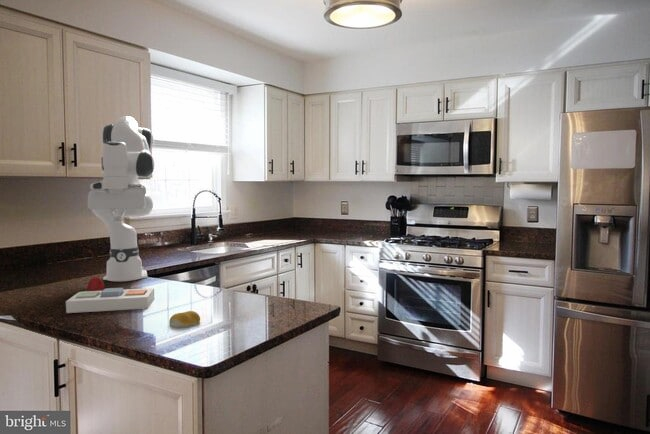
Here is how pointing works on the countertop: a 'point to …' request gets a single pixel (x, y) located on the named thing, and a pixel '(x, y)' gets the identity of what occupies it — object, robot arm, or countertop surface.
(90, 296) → the key sage
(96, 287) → the onion
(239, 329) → the countertop surface
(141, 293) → the key terracotta
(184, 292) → the countertop surface
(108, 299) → the keypad
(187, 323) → the bread roll
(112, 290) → the key slate
